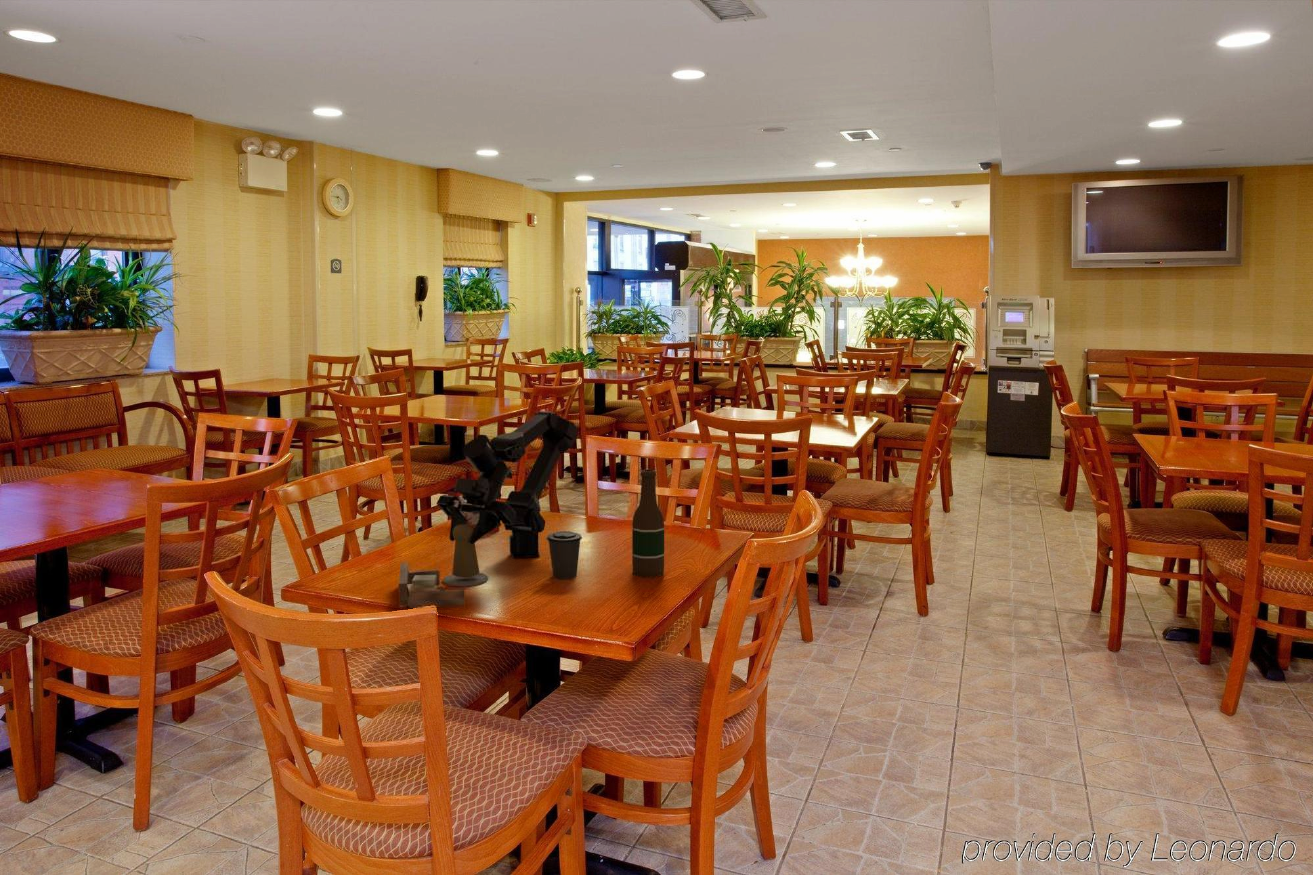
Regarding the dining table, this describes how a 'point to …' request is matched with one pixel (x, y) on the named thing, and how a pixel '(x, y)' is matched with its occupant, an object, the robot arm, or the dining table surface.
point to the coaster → (465, 580)
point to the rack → (425, 589)
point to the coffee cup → (564, 553)
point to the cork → (464, 552)
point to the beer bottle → (648, 531)
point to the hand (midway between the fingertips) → (460, 541)
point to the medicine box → (473, 516)
